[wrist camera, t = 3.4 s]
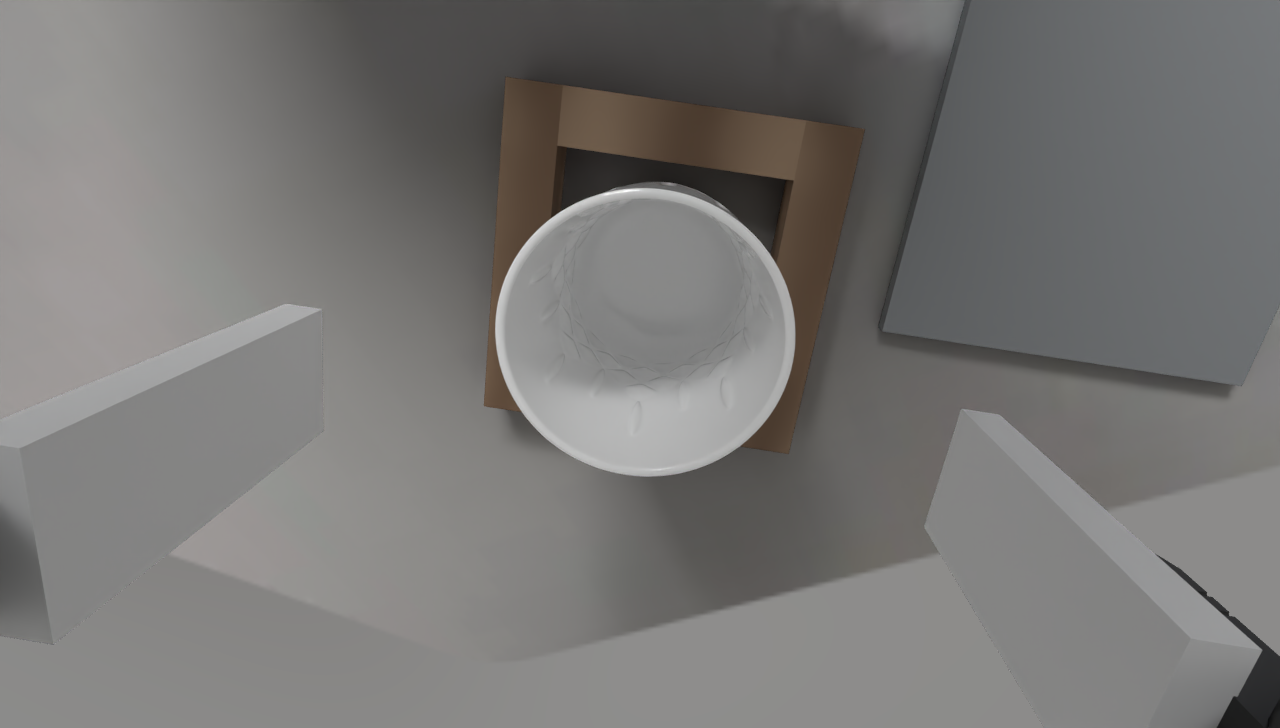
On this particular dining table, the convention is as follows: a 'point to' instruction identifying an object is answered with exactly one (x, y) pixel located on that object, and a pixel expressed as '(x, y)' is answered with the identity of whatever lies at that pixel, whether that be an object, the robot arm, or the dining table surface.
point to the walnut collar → (690, 136)
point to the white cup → (645, 330)
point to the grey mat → (1102, 186)
